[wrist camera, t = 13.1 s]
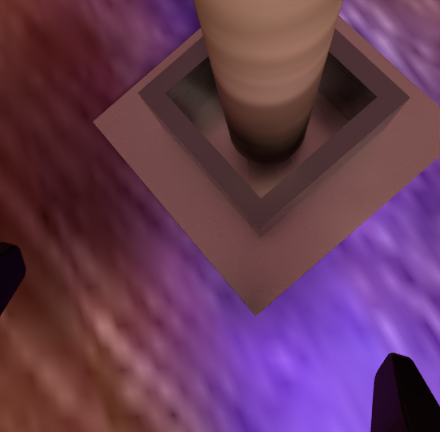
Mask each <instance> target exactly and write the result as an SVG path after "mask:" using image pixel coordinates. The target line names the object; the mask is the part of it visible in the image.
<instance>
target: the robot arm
mask: <svg viewBox="0 0 440 432" xmlns="http://www.w3.org/2000/svg"><path fill="white" fill-rule="evenodd" d="M25 273H26V266H25V263H24V260H23V257H22V253H21V250H20V248H19V247H18V246H16V245H13V244H10V243H6V242H0V316H1V314H2V312H3V311H4V309H5V308H6V306H7V304H8V303H9V301H10V299H11V298H12V296H13V295H14V293H15V291H16V290H17V288H18V286H19V285H20V283H21V282H22V280H23V278H24V276H25ZM371 432H440V406H439V404H438V403H437V401H436V399H435V398H434V396H433V394H432V393H431V391H430V389H429V387H428V386H427V384H426V382H425V381H424V379H423V377H422V376H421V374H420V372H419V371H418V369H417V367H416V365H415V364H414V362H413V361H412V360H411V359H410V358H409V357H407V356H403V355H400V354H396V353H390V354H388V355H387V357H386V358H385V360H384V362H383V363H382V365H381V366H380V368H379V369H378V371H377V373H376V375H375V380H374V390H373V404H372V418H371Z"/></svg>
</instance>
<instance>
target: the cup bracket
mask: <svg viewBox="0 0 440 432" xmlns="http://www.w3.org/2000/svg"><path fill="white" fill-rule="evenodd" d="M93 123H94V124H95V125H96V126H97V128H98V129H99V130H100V131H101V132H102V134H103V135H104V136H105V137H106V138H107V139H108V141H109V142H110V143H111V144H112V145H113V147H114V148H115V149H116V150H117V151H118V153H119V154H120V155H121V156H122V157H123V159H124V160H125V161H126V162H127V163H128V165H129V166H130V167H131V168H132V169H133V170H134V172H135V173H136V174H137V175H138V176H139V178H140V179H141V180H142V181H143V182H144V184H145V185H146V186H147V187H148V188H149V190H150V191H151V192H152V193H153V194H154V196H155V197H156V198H157V199H158V200H159V201H160V203H161V204H162V205H163V206H164V207H165V209H166V210H167V211H168V212H169V213H170V215H171V216H172V217H173V218H174V219H175V221H176V222H177V223H178V224H179V225H180V227H181V228H182V229H183V230H184V231H185V232H186V234H187V235H188V236H189V237H190V238H191V240H192V241H193V242H194V243H195V244H196V246H197V247H198V248H199V249H200V250H201V252H202V253H203V254H204V255H205V256H206V258H207V259H208V260H209V261H210V262H211V263H212V265H213V266H214V267H215V268H216V269H217V271H218V272H219V273H220V274H221V275H222V277H223V278H224V279H225V280H226V281H227V283H228V284H229V285H230V286H231V287H232V289H233V290H234V291H235V292H236V293H237V294H238V296H239V297H240V298H241V299H242V300H243V302H244V303H245V304H246V305H247V306H248V308H249V309H250V310H251V311H252V312H253V314H254V315H255V316H256V315H258V314H259V313H260V312H261V311H262V310H263V309H264V308H266V307H267V306H268V305H269V304H270V303H271V302H273V301H274V300H275V299H276V298H277V297H278V296H279V295H281V294H282V293H283V292H284V291H285V290H286V289H287V288H289V287H290V286H291V285H292V284H293V283H294V282H295V281H297V280H298V279H299V278H300V277H301V276H302V275H304V274H305V273H306V272H307V271H308V270H309V269H310V268H312V267H313V266H314V265H315V264H316V263H317V262H318V261H320V260H321V259H322V258H323V257H324V256H325V255H326V254H328V253H329V252H330V251H331V250H332V249H333V248H335V247H336V246H337V245H338V244H339V243H340V242H341V241H343V240H344V239H345V238H346V237H347V236H348V235H349V234H351V233H352V232H353V231H354V230H355V229H356V228H357V227H359V226H360V225H361V224H362V223H363V222H364V221H366V220H367V219H368V218H369V217H370V216H371V215H372V214H374V213H375V212H376V211H377V210H378V209H379V208H380V207H382V206H383V205H384V204H385V203H386V202H387V201H388V200H390V199H391V198H392V197H393V196H394V195H395V194H397V193H398V192H399V191H400V190H401V189H402V188H403V187H405V186H406V185H407V184H408V183H409V182H410V181H411V180H413V179H414V178H415V177H416V176H417V175H418V174H419V173H421V172H422V171H423V170H424V169H425V168H426V167H428V166H429V165H430V164H431V163H432V162H433V161H434V160H436V159H437V158H438V157H439V156H440V107H439V106H437V105H436V104H435V103H434V102H433V101H432V100H431V99H430V98H429V97H428V96H427V95H425V94H424V93H423V92H422V91H421V90H420V89H419V88H418V87H417V86H416V85H414V84H413V83H412V82H411V81H410V80H409V79H408V78H407V77H406V76H405V75H403V74H402V73H401V72H400V71H399V70H398V69H397V68H396V67H395V66H394V65H392V64H391V63H390V62H389V61H388V60H387V59H386V58H385V57H384V56H383V55H382V54H380V53H379V52H378V51H377V50H376V49H375V48H374V47H373V46H372V45H371V44H369V43H368V42H367V41H366V40H365V39H364V38H363V37H362V36H361V35H360V34H358V33H357V32H356V31H355V30H354V29H353V28H352V27H351V26H350V25H349V24H348V23H346V22H345V21H344V20H343V19H342V18H341V17H340V16H339V15H338V19H337V22H336V26H335V30H334V33H333V37H332V40H331V44H330V48H329V51H328V55H327V58H326V62H325V66H324V69H323V73H322V76H321V80H320V84H319V87H318V91H317V94H316V98H315V102H314V105H313V109H312V112H311V116H310V120H309V123H308V127H307V130H306V134H305V137H304V140H303V142H302V144H301V146H300V147H299V149H298V150H297V151H296V152H295V153H294V154H293V155H292V156H290V157H289V158H287V159H286V160H283V161H281V162H278V163H274V164H259V163H255V162H252V161H250V160H248V159H246V158H245V157H243V156H242V155H241V154H240V153H239V152H238V151H237V150H236V148H235V147H234V145H233V143H232V141H231V138H230V134H229V130H228V127H227V123H226V119H225V116H224V112H223V108H222V104H221V101H220V97H219V93H218V90H217V86H216V82H215V78H214V75H213V71H212V67H211V64H210V60H209V56H208V52H207V49H206V45H205V41H204V38H203V34H202V30H201V28H200V29H199V30H198V31H196V32H195V33H194V34H193V35H192V36H191V37H190V38H188V39H187V40H186V41H185V42H184V43H183V44H182V45H180V46H179V47H178V48H177V49H176V50H175V51H174V52H172V53H171V54H170V55H169V56H168V57H167V58H165V59H164V60H163V61H162V62H161V63H160V64H159V65H157V66H156V67H155V68H154V69H153V70H152V71H151V72H149V73H148V74H147V75H146V76H145V77H144V78H143V79H141V80H140V81H139V82H138V83H137V84H136V85H134V86H133V87H132V88H131V89H130V90H129V91H128V92H126V93H125V94H124V95H123V96H122V97H121V98H120V99H118V100H117V101H116V102H115V103H114V104H113V105H112V106H110V107H109V108H108V109H107V110H106V111H105V112H103V113H102V114H101V115H100V116H99V117H98V118H97V119H95V120H94V121H93Z"/></svg>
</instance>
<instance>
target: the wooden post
mask: <svg viewBox="0 0 440 432" xmlns="http://www.w3.org/2000/svg"><path fill="white" fill-rule="evenodd" d="M342 1H343V0H194V4H195V8H196V12H197V15H198V19H199V23H200V26H201V30H202V34H203V38H204V41H205V45H206V49H207V52H208V56H209V60H210V64H211V67H212V71H213V75H214V78H215V82H216V86H217V90H218V93H219V97H220V101H221V104H222V108H223V112H224V116H225V119H226V123H227V127H228V130H229V134H230V138H231V141H232V143H233V145H234V147H235V148H236V150H237V151H238V152H239V153H240V154H241V155H242V156H243V157H245V158H246V159H248V160H250V161H252V162H255V163H259V164H274V163H278V162H281V161H283V160H286V159H287V158H289V157H290V156H292V155H293V154H294V153H295V152H296V151H297V150H298V149H299V147H300V146H301V144H302V142H303V140H304V137H305V134H306V130H307V127H308V123H309V120H310V116H311V112H312V109H313V105H314V102H315V98H316V94H317V91H318V87H319V84H320V80H321V76H322V73H323V69H324V66H325V62H326V58H327V55H328V51H329V48H330V44H331V40H332V37H333V33H334V30H335V26H336V22H337V19H338V15H339V12H340V8H341V4H342Z"/></svg>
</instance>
